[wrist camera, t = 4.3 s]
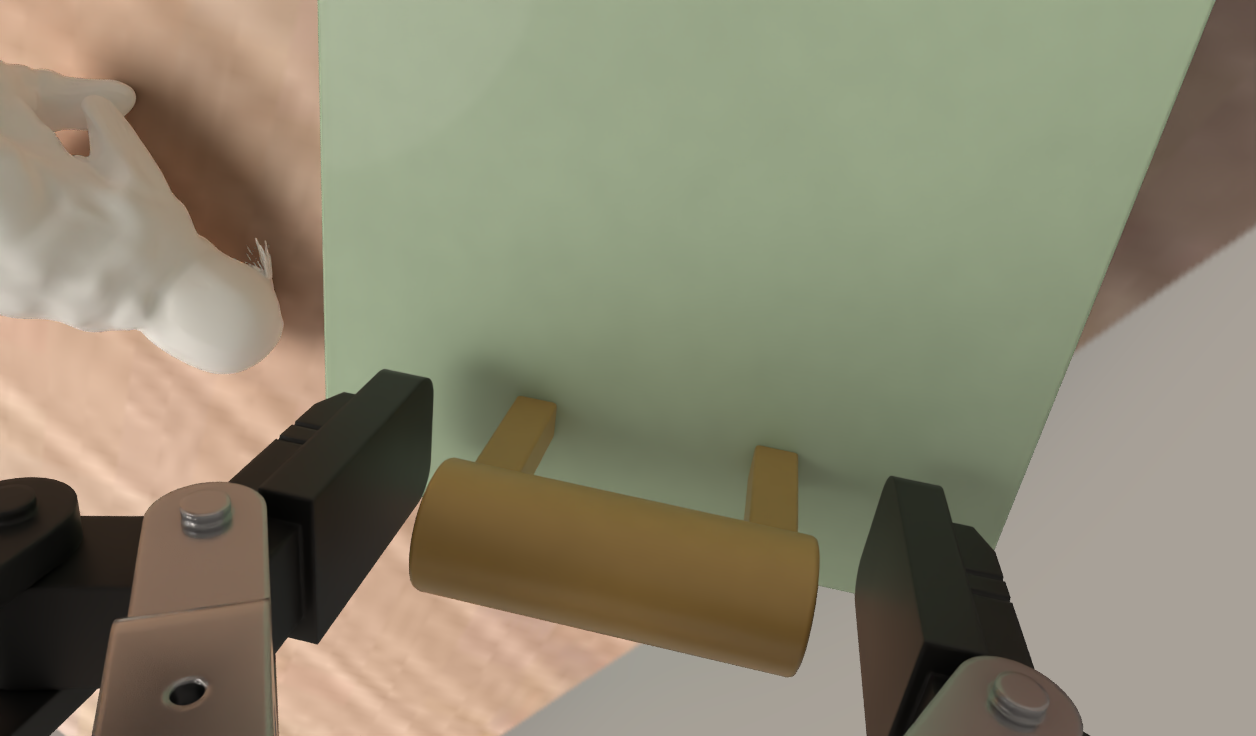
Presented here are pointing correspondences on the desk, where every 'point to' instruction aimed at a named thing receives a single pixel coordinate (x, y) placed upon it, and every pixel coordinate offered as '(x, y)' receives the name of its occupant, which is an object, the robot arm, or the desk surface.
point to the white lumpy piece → (115, 232)
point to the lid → (721, 277)
